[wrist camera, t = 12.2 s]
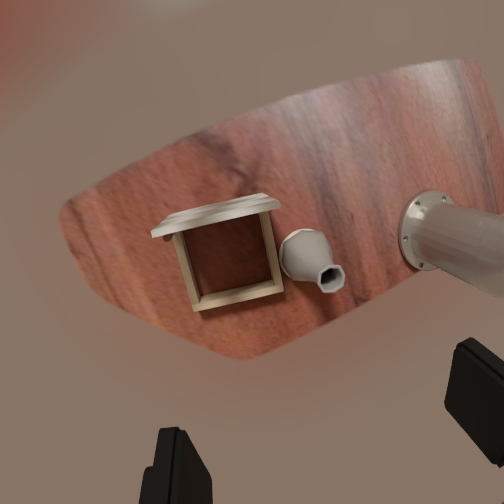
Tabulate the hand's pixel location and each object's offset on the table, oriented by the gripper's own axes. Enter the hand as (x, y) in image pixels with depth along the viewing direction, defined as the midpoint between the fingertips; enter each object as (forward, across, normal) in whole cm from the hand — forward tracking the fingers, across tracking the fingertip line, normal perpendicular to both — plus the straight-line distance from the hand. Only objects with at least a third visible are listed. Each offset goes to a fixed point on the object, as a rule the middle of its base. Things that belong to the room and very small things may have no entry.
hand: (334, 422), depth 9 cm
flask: (+33, -7, +5) cm, 34 cm away
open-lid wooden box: (+33, +3, +2) cm, 34 cm away
